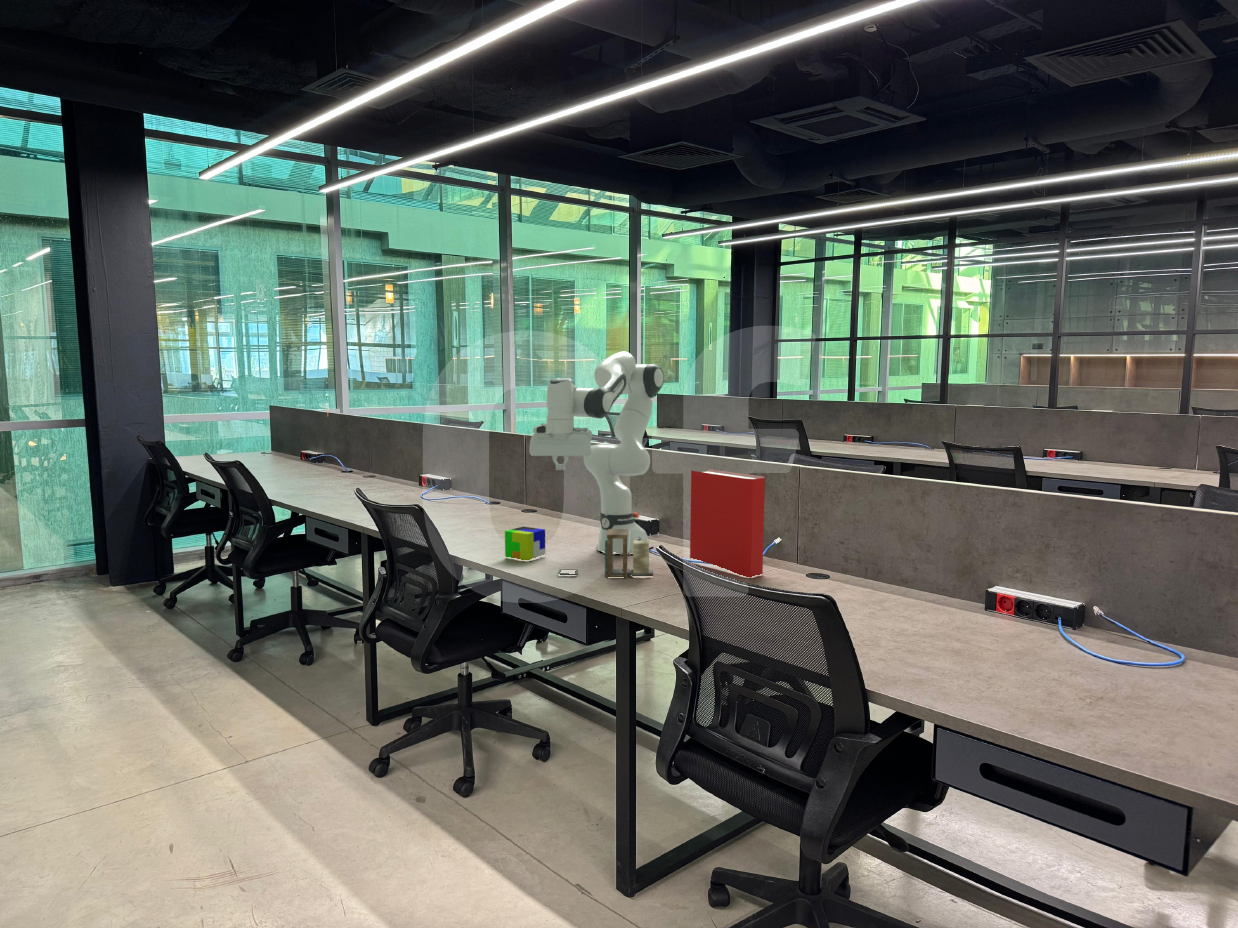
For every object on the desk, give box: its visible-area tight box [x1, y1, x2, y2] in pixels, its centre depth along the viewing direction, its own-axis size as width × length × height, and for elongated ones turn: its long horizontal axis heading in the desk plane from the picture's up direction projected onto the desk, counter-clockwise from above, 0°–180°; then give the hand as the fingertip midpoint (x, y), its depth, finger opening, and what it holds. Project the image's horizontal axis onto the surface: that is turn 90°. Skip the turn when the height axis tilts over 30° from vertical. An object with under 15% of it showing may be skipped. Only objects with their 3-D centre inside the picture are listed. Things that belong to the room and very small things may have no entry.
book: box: [689, 468, 766, 577], centre depth 263 cm, size 27×8×32 cm, turn 37°
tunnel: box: [607, 529, 628, 579], centre depth 255 cm, size 6×9×14 cm
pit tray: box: [557, 568, 579, 576], centre depth 256 cm, size 6×6×1 cm
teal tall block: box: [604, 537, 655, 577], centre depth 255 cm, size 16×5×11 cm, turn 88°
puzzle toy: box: [504, 526, 546, 560], centre depth 278 cm, size 10×10×10 cm
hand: (560, 469), depth 260 cm, fingers closed
